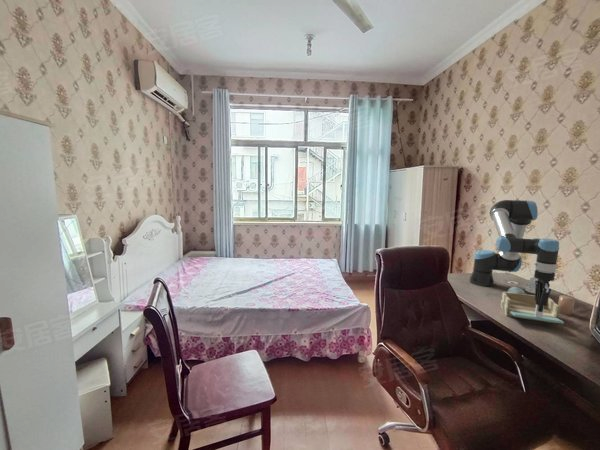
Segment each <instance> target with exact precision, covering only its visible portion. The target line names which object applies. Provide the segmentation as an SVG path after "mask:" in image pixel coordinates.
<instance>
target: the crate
mask: <svg viewBox="0 0 600 450" xmlns="http://www.w3.org/2000/svg"><path fill="white" fill-rule="evenodd" d="M499 307H501V309H502V311H503V313H504V315H505V316H506V317H511V318H517V319H523V320H530V321H536V322H542V323H549V324H555V325H558V324H559V323H556V322H549V321H543V320H536V319H530V318H523V317H517V316H514V315H513V314H511V313H510V311H515V312H522V313H529V314H535V309H536V300H535V294H533V295H532V294H527V293H526V294H519V293H511V292H508V291H501V296H500V306H499ZM543 316H549V317H555V318H558V319H559V318H560V307H559V306H558V303H556V302H555V301H554V300H553V299H552V298H551V297H550V296H549V298H548V301H547V305H546V306H544V309H543Z"/></svg>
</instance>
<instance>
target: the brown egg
mask: <svg viewBox="0 0 600 450" xmlns="http://www.w3.org/2000/svg"><path fill="white" fill-rule="evenodd" d="M575 302H576V298H574V297H572V296H568V295H564V294H563V295H559V298H558V302H557V305H558V306H559V307H560V313H559V315H560V314H561V315H564V316H570V317H571V316H573V314H574V310H575V309H574V308H575Z"/></svg>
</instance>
